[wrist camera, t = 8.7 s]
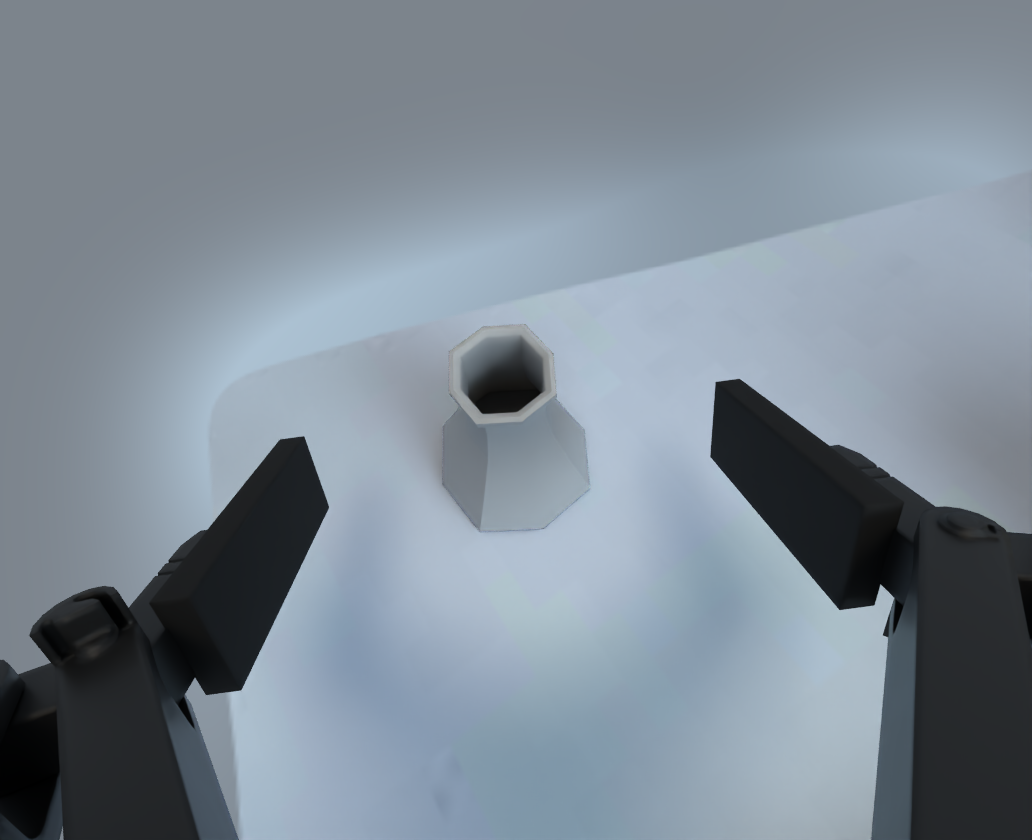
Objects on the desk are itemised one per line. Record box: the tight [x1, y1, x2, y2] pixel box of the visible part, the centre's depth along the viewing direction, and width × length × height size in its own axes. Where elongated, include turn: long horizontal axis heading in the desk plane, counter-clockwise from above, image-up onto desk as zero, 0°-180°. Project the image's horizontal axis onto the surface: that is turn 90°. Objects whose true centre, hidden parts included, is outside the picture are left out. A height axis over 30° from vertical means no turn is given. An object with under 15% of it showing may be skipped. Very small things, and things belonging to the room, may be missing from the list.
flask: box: [443, 324, 590, 532], centre depth 18 cm, size 7×7×10 cm
